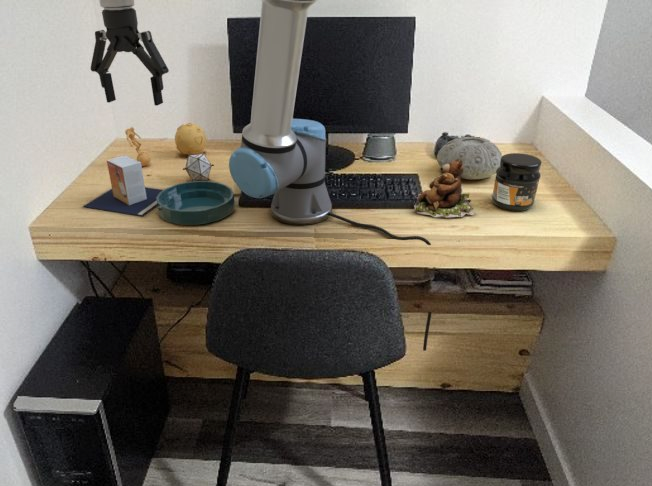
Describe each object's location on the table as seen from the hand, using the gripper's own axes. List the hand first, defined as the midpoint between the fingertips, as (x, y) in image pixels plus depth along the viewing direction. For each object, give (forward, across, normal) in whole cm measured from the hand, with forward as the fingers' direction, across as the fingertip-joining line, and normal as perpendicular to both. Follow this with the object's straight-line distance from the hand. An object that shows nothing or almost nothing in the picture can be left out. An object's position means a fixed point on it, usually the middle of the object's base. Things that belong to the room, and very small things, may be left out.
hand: (134, 102), depth 136 cm
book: (+25, +4, +4) cm, 25 cm away
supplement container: (+26, -93, -23) cm, 99 cm away
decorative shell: (+26, -80, -41) cm, 94 cm away
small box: (+25, +4, +4) cm, 25 cm away
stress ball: (+25, +5, -33) cm, 42 cm away
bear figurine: (+26, -76, -15) cm, 81 cm away
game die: (+25, -8, -14) cm, 30 cm away
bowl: (+25, -16, +4) cm, 30 cm away
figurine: (+25, +15, -19) cm, 35 cm away
